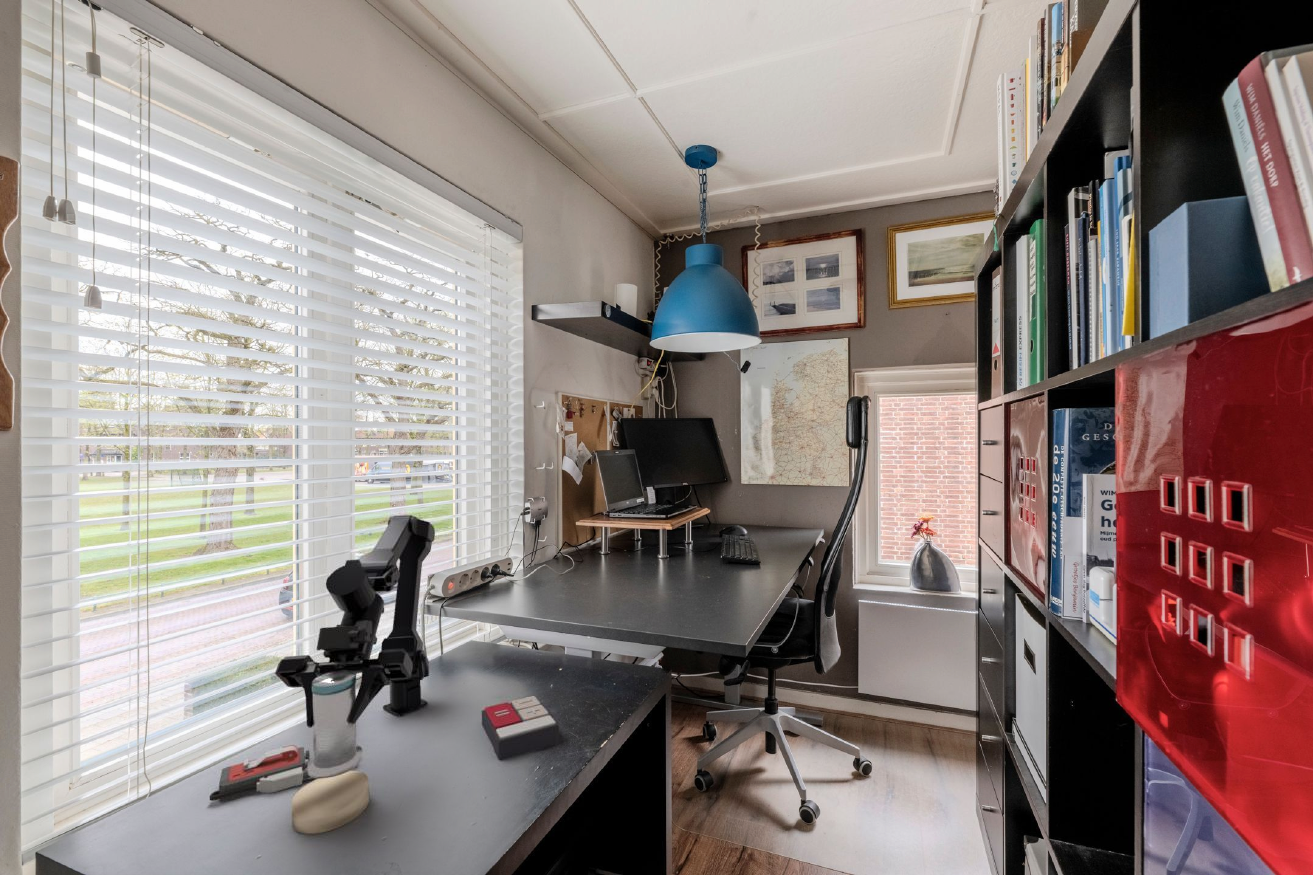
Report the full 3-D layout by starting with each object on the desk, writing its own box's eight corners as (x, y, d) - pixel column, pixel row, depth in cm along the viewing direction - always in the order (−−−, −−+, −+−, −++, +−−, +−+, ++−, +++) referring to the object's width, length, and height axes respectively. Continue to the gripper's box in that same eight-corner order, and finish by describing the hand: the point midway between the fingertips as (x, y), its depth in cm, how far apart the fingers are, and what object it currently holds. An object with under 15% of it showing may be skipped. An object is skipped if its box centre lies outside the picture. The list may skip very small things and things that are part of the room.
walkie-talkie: (207, 815, 83) (357, 769, 94) (207, 786, 83) (357, 743, 94) (214, 786, 90) (352, 747, 102) (213, 759, 91) (352, 722, 102)
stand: (279, 817, 82) (279, 796, 82) (348, 782, 90) (348, 763, 90) (311, 843, 76) (311, 821, 76) (382, 803, 84) (381, 783, 84)
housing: (306, 761, 84) (305, 675, 84) (359, 745, 88) (358, 664, 88) (308, 784, 78) (307, 692, 78) (365, 766, 82) (364, 679, 83)
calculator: (535, 692, 114) (559, 720, 101) (536, 714, 114) (560, 744, 101) (481, 706, 109) (498, 736, 96) (481, 728, 108) (499, 762, 95)
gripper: (280, 605, 86) (237, 710, 75) (405, 598, 89) (382, 698, 78) (306, 638, 94) (271, 737, 83) (421, 631, 96) (401, 726, 85)
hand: (330, 724), depth 82 cm, fingers closed on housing, 6 cm apart
